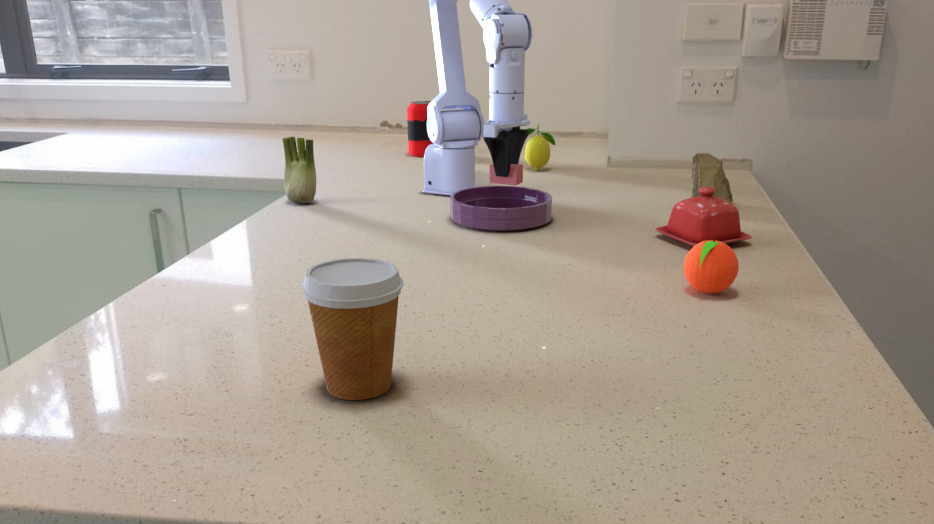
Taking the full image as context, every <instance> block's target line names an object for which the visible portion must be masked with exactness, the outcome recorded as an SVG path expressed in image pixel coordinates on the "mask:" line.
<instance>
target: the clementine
mask: <svg viewBox="0 0 934 524" xmlns="http://www.w3.org/2000/svg"><path fill="white" fill-rule="evenodd" d="M739 271H740V270H739V261H738V257H737V254H736V252H735V251H734V249H733V248H732V247H731V246H729V244H725V243H724V242H721V241H716V240H715V239H714V240H706V241H702V242H700V243H698V244H697V245H695V246H694V247H693V246H692V248H691V249H690V250H689V251H688V252H687V254H686V256H685V257H684V261H683V274H684V277H685V279H686V281H687V282H688V284H689V285H690V286H691V287H692V288H693V289H694V290H696V291H698V292H699V293H700V292H701V293H704V294H709V295H710V294H711V295H712V294H719V293H721V292H723V291H725V290H727V289H728V288H729V287H730V286H732V285H733V283H734V281H735V280H736V279H737V276H738V274H739Z"/></svg>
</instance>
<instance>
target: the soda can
mask: <svg viewBox="0 0 934 524" xmlns="http://www.w3.org/2000/svg"><path fill="white" fill-rule="evenodd" d="M431 101H432V100H414V101H411V102H410V103H409V105H408V106H407V108H406V119H407V120H406V121H407V122H406V123H407V148H408V150H407V151H408V154H409V156H410V157H411V156H412V157H416V158H424V154H425V150H426V148H427V147H428V146H429V145H431V144H433V143H432V141H431V140H430V139H429V136H428V132H427V118H428V115H427V107H428V105H429V103H430V102H431Z"/></svg>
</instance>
